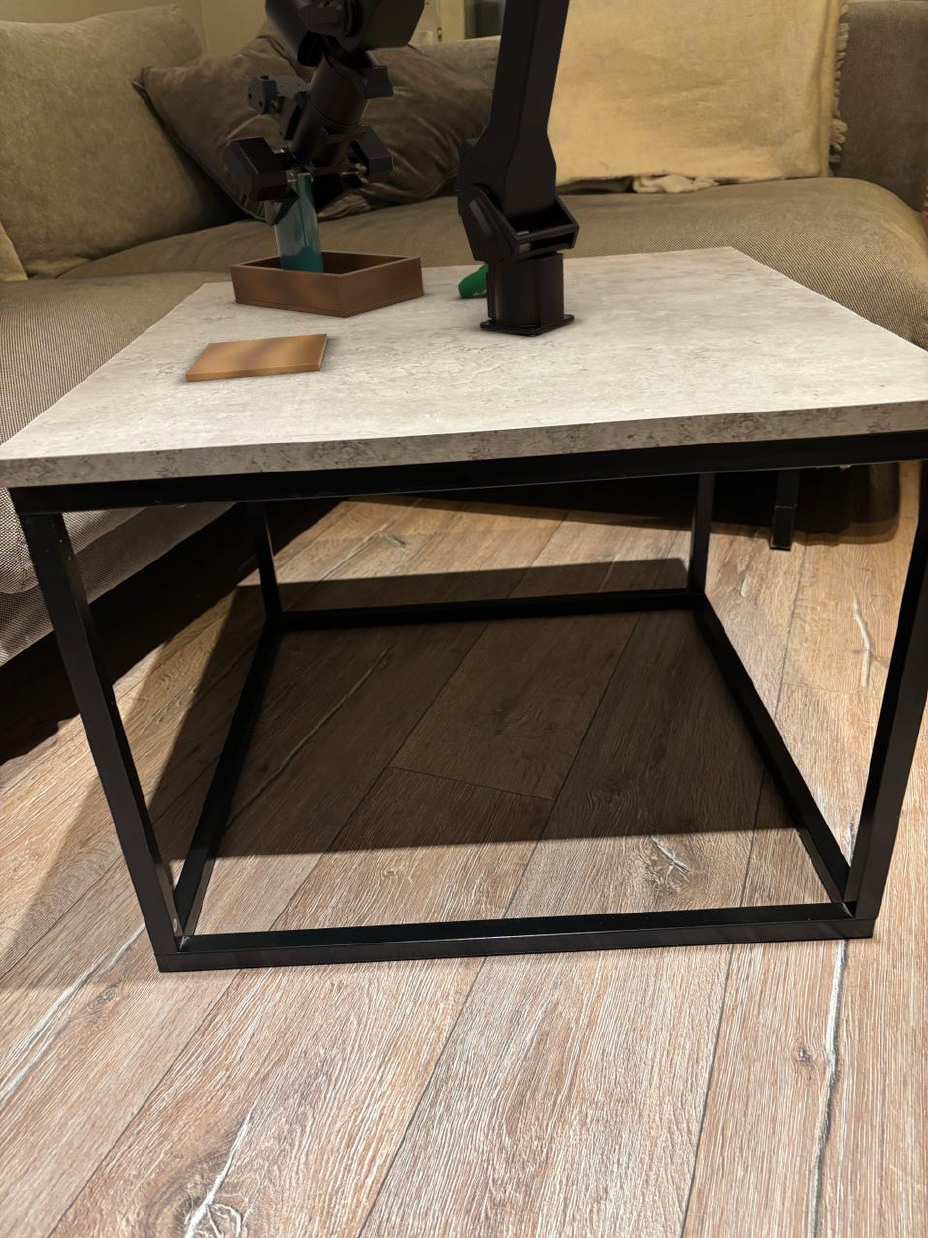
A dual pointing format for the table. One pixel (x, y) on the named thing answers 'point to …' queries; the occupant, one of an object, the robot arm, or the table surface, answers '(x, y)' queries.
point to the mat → (259, 357)
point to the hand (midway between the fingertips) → (288, 219)
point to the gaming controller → (474, 283)
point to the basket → (330, 283)
